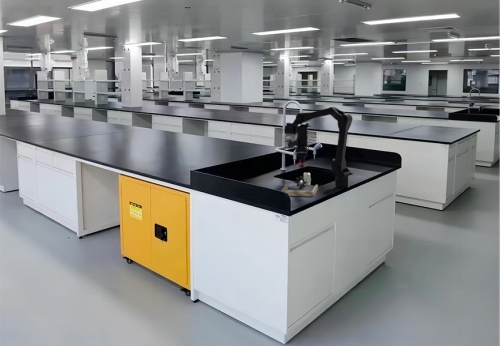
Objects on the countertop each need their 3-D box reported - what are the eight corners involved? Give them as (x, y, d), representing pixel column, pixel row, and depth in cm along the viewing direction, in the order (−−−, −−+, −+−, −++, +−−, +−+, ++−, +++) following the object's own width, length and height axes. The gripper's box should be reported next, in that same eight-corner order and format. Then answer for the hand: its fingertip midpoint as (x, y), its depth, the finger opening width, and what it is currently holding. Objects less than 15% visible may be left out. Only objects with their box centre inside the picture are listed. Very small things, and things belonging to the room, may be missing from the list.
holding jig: (317, 189, 230) (317, 184, 230) (313, 196, 215) (313, 191, 215) (286, 188, 235) (286, 184, 235) (280, 195, 220) (280, 190, 219)
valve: (303, 183, 247) (295, 188, 236) (302, 172, 245) (294, 176, 235) (313, 184, 244) (306, 188, 233) (313, 173, 242) (306, 176, 232)
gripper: (290, 133, 252) (290, 159, 255) (286, 137, 234) (286, 165, 237) (309, 133, 250) (309, 160, 253) (306, 137, 232) (306, 165, 235)
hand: (302, 162), depth 244 cm, fingers open, 9 cm apart
